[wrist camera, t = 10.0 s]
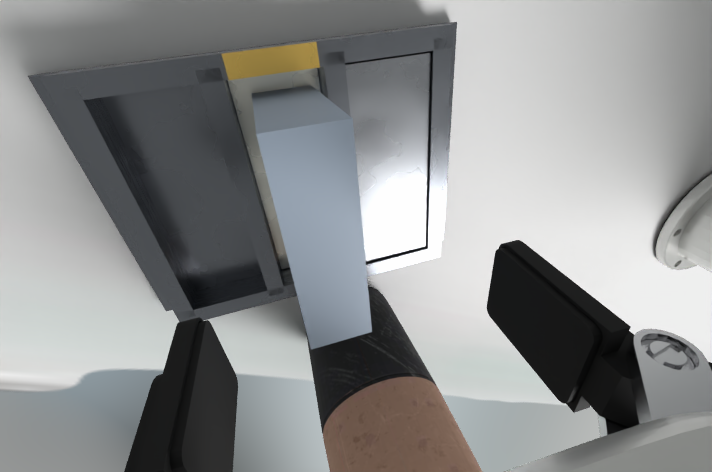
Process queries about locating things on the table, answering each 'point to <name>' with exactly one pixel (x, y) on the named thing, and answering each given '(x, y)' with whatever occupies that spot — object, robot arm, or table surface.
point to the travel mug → (384, 404)
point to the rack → (257, 156)
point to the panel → (317, 208)
